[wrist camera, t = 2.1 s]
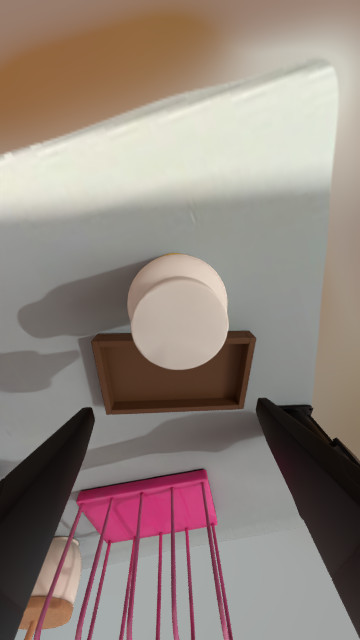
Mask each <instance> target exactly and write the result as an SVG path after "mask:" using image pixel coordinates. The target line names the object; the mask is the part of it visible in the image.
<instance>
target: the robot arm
mask: <svg viewBox="0 0 360 640" xmlns="http://www.w3.org/2000/svg"><path fill="white" fill-rule="evenodd" d="M312 411H313V408H312V406H310V405H302V406H277V405H275V404H274V403H273V402H271V401H270V400H268V399H267V398H259V399H258V401H257V406H256V413H257V416H258V419H259V422H260V424H261V427H262V430H263V433H264V435H265V438H266V441H267V443H268V445H269V448H270V450H271V452H272V454H273V456H274V458H275V460H276V462H277V465H278V467H279V469H280V471H281V473H282V475H283V477H284V479H285V481H286V484H287V486H288V488H289V490H290V492H291V494H292V496H293V499H294V501H295V504H296V506H297V509H298V512H299V515H300V517H301V518H302V519H303V520H304V522H305V524H306V526H307V528H308V530H309V532H310V534H311V536H312V538H313V541H314V543H315V545H316V547H317V549H318V551H319V553H320V555H321V557H322V560H323V562H324V564H325V566H326V568H327V570H328V572H329V574H330V576H331V578H332V581H333V583H334V585H335V587H336V589H337V591H338V594H339V596H340V598H341V600H342V602H343V604H344V606H345V608H346V611H347V613H348V615H349V617H350V619H351V621H352V623H353V625H354V627H355V630H356V632H357V634H358V636H359V638H360V461H359V459H358V458H357V457H356V456H355V455H354V454H353V453H352V452H351V451H350V450H349V449H348V448H347V447H346V446H345V445H344V444H343V443H342V442H341V441H340V440H339V439H338V438H335V439H333V441H332V440H331V439H330V438H329V437H328V435H327V434H326V433H325V432H324V431H323V429H322V428H321V427H320V426H319V425H318V424H317V423H316V421H315V420H314V419H313V418H312V417H311V413H312ZM94 422H95V417H94V414H93V410H92V408H91V407H86V408H82V409H81V410H80V411H79V412H78V413H76V414H75V415H74V416H73V417H72V418H71V419H70V420H69V421H67V422H66V423H65V424H64V425H63V426H62V427H61V428H60V429H58V430H57V431H56V432H55V433H54V434H53V435H52V436H51V437H49V438H48V439H47V440H46V441H45V442H44V443H43V444H42V445H40V446H39V447H38V448H37V449H36V450H35V451H34V452H33V453H31V454H30V455H29V456H28V457H27V458H26V459H25V460H24V461H22V462H21V463H20V464H19V465H18V466H17V467H16V468H14V469H13V470H12V471H11V472H10V473H9V474H8V475H7V476H6V477H5V478H3V479H2V480H1V481H0V640H14V639H15V636H16V634H17V631H18V628H19V626H20V623H21V621H22V618H23V615H24V612H25V610H26V607H27V605H28V602H29V600H30V597H31V594H32V592H33V589H34V587H35V584H36V581H37V579H38V576H39V574H40V571H41V569H42V566H43V563H44V561H45V558H46V556H47V553H48V550H49V548H50V545H51V543H52V540H53V537H54V535H55V532H56V530H57V527H58V525H59V522H60V519H61V517H62V514H63V512H64V509H65V506H66V504H67V501H68V499H69V496H70V494H71V491H72V488H73V486H74V483H75V481H76V478H77V475H78V473H79V470H80V468H81V465H82V462H83V460H84V457H85V454H86V451H87V447H88V444H89V440H90V437H91V433H92V430H93V426H94Z"/></svg>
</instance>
